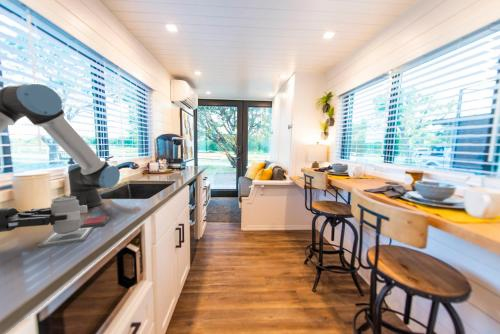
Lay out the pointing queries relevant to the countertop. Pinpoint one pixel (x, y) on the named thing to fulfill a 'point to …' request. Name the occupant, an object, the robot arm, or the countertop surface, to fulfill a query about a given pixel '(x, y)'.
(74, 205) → the grey upright rounded block
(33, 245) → the countertop surface
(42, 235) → the countertop surface
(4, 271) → the countertop surface
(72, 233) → the board
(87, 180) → the robot arm
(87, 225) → the ink pad
